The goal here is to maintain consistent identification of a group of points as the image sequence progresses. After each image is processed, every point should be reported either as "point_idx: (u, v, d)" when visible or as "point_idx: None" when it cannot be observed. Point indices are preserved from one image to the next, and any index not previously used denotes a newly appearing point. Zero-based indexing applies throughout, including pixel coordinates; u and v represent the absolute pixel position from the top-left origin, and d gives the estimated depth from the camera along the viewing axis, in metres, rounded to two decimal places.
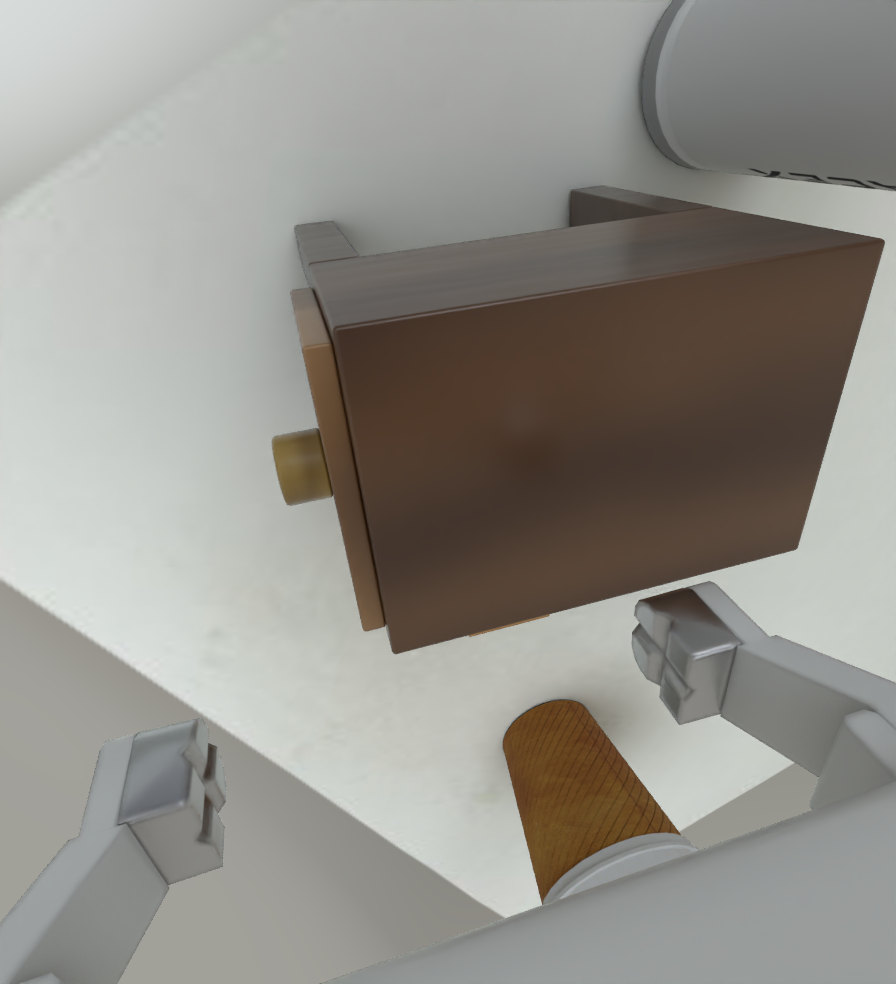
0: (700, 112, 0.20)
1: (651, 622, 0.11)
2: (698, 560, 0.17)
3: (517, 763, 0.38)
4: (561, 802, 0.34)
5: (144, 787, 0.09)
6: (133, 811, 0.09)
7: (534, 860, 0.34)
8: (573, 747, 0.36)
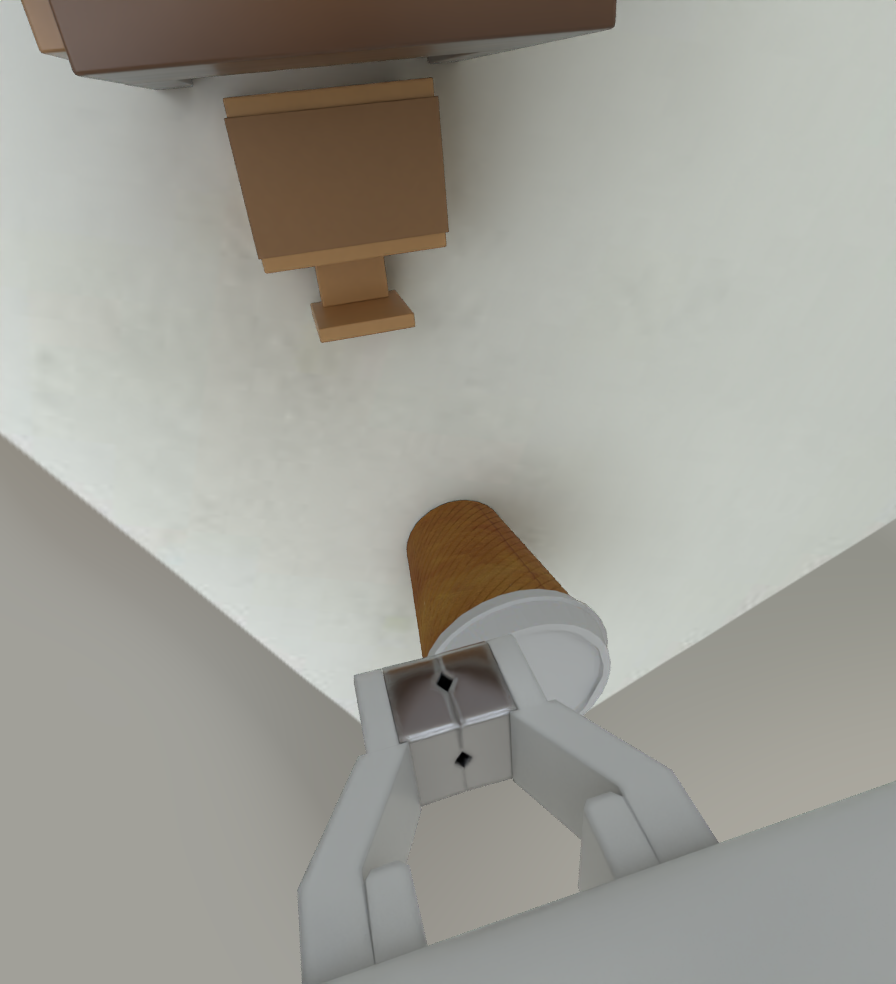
0: None
1: None
2: (479, 5, 0.13)
3: (415, 558, 0.35)
4: (450, 575, 0.31)
5: (411, 712, 0.10)
6: (409, 732, 0.09)
7: (421, 639, 0.31)
8: (471, 532, 0.33)
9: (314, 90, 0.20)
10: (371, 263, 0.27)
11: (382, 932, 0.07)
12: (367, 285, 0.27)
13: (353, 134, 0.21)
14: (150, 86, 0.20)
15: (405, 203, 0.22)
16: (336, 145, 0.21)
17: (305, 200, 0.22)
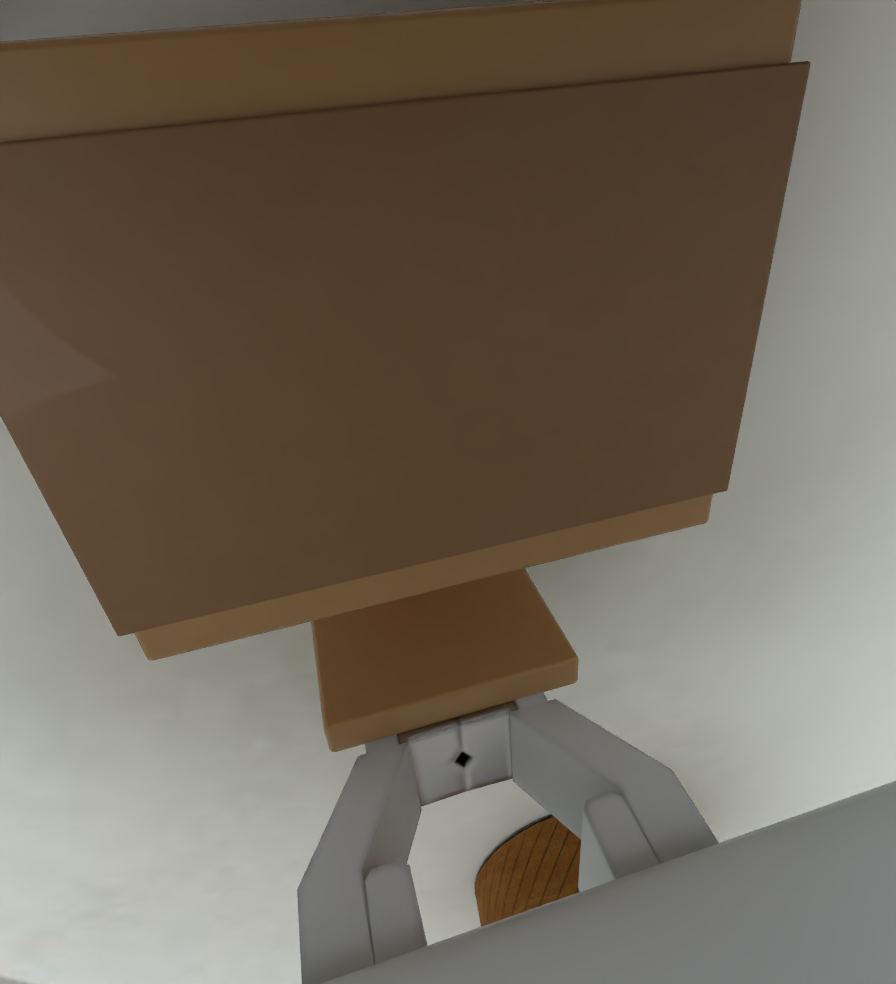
0: None
1: None
2: None
3: None
4: None
5: None
6: (408, 732, 0.09)
7: None
8: None
9: (313, 26, 0.04)
10: None
11: (382, 932, 0.07)
12: None
13: (472, 215, 0.05)
14: None
15: (619, 428, 0.07)
16: (402, 258, 0.05)
17: (282, 449, 0.06)
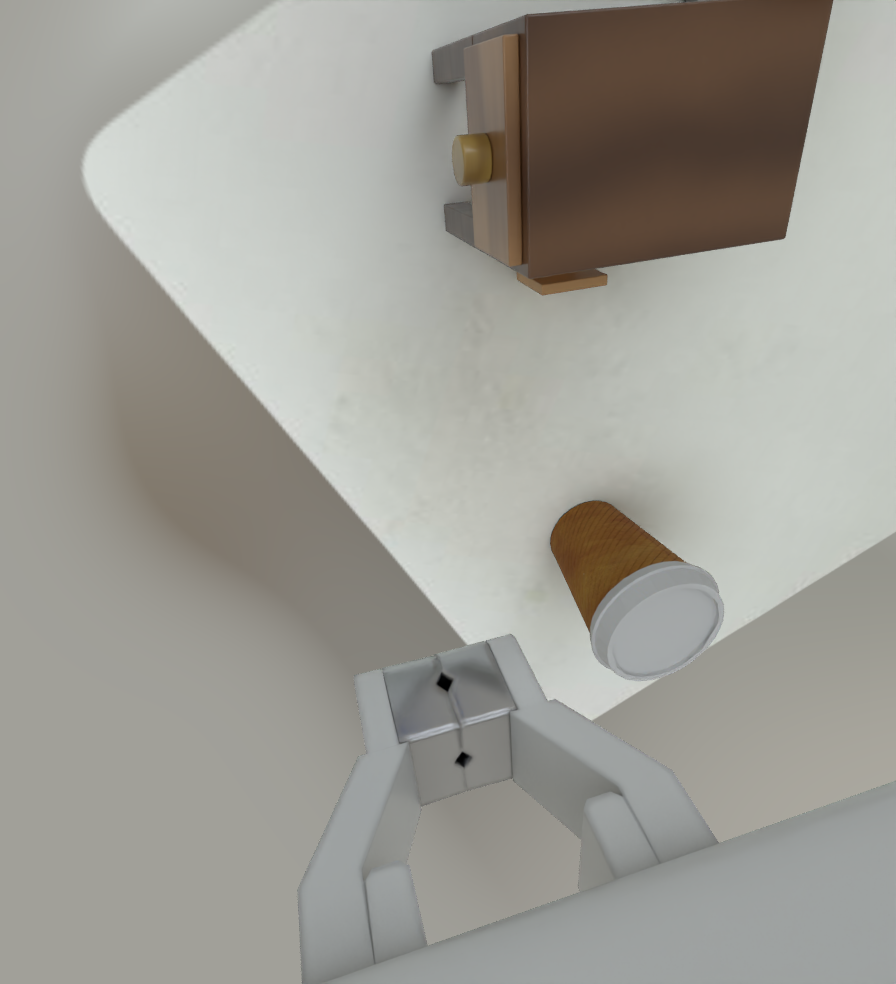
0: None
1: None
2: (720, 234, 0.26)
3: (564, 543, 0.47)
4: (604, 553, 0.43)
5: (411, 712, 0.10)
6: (409, 732, 0.09)
7: (582, 599, 0.43)
8: (611, 523, 0.45)
9: None
10: None
11: (382, 932, 0.07)
12: None
13: None
14: None
15: None
16: None
17: None
